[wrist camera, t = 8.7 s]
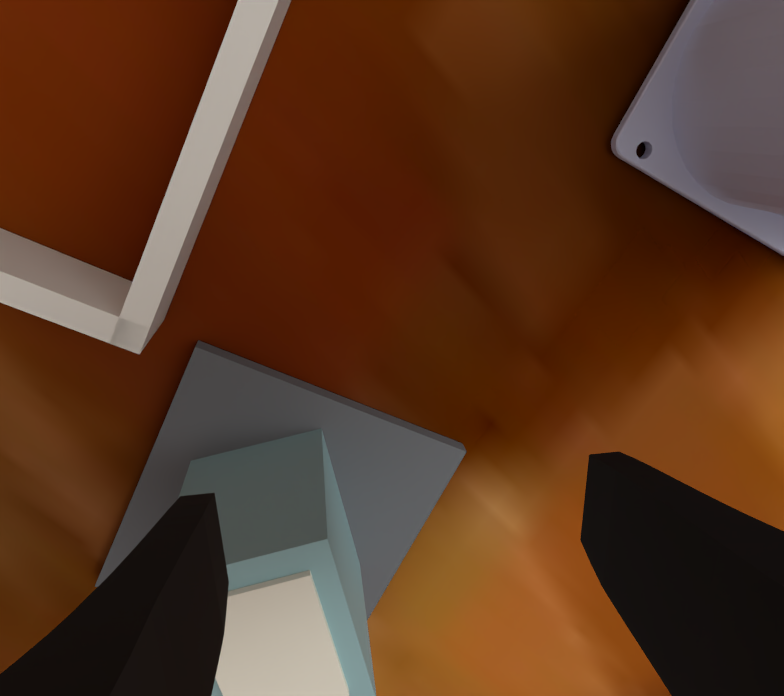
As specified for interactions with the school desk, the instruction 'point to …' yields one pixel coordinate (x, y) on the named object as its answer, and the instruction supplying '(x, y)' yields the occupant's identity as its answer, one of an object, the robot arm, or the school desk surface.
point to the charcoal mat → (287, 418)
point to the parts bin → (174, 220)
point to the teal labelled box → (286, 572)
